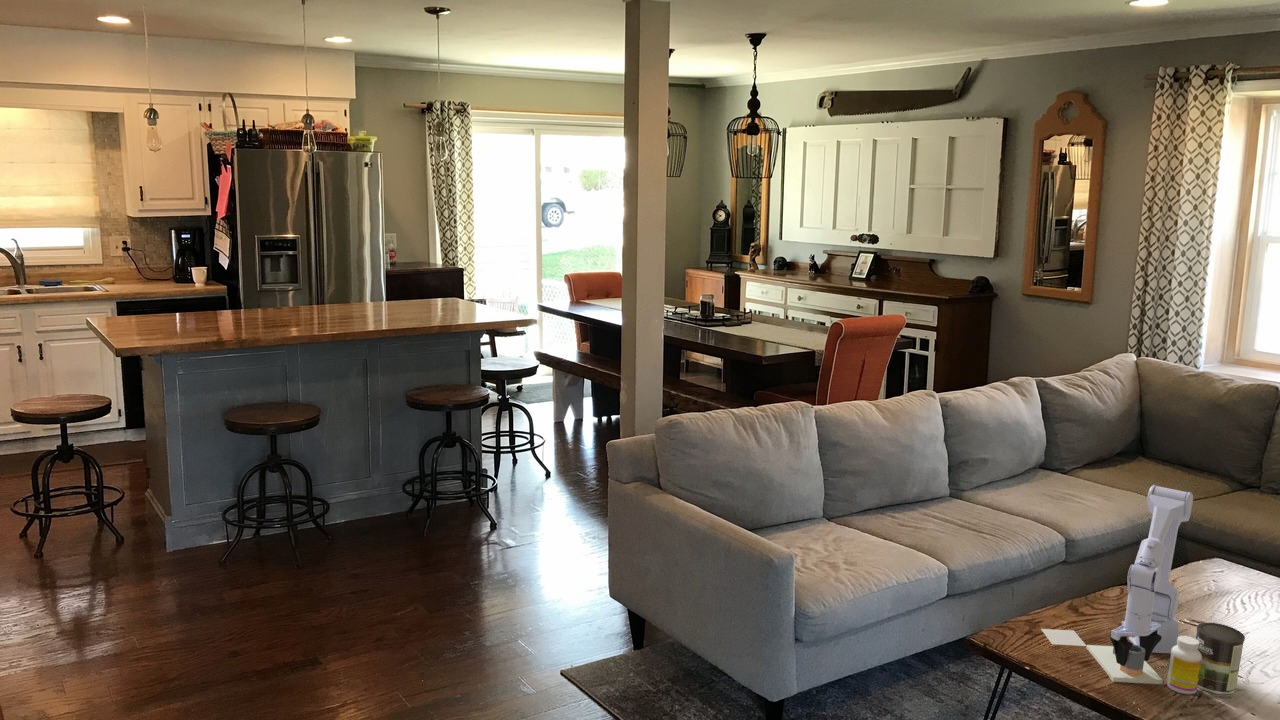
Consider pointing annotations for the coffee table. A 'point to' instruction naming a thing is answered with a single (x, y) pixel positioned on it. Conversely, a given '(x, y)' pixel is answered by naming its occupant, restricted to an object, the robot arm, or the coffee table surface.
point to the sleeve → (1134, 661)
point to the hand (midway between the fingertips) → (1132, 661)
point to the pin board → (1112, 668)
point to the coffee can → (1219, 657)
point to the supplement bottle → (1184, 666)
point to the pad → (1063, 637)
